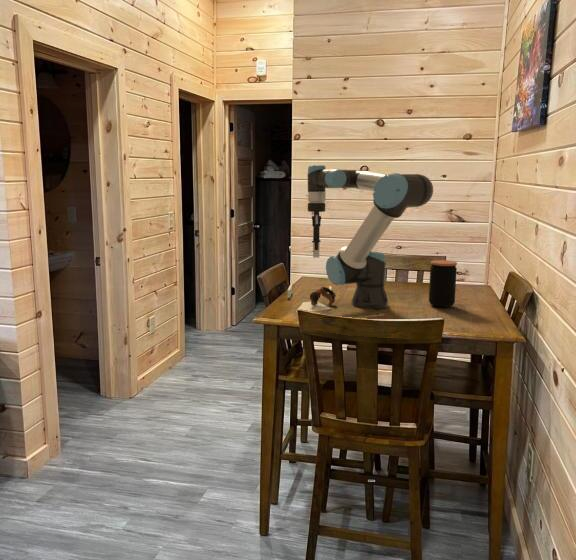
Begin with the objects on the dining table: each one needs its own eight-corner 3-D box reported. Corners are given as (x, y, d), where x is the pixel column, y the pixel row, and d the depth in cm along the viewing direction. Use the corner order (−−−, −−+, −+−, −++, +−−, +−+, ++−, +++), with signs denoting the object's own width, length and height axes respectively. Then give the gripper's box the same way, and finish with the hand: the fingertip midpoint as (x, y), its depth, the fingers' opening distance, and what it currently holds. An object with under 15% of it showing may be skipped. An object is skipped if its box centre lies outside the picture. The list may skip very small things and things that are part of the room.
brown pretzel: (289, 293, 252) (289, 285, 251) (331, 294, 250) (331, 285, 249) (287, 299, 240) (287, 290, 239) (331, 300, 238) (331, 291, 238)
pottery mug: (318, 301, 236) (328, 285, 234) (331, 314, 231) (342, 298, 228) (300, 299, 227) (310, 283, 225) (314, 312, 222) (324, 296, 219)
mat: (334, 309, 222) (334, 308, 222) (298, 313, 215) (298, 312, 215) (315, 301, 236) (315, 301, 236) (281, 304, 229) (281, 304, 229)
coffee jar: (459, 306, 227) (461, 263, 224) (434, 307, 225) (437, 264, 222) (447, 301, 237) (450, 259, 234) (424, 301, 235) (426, 260, 232)
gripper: (307, 201, 239) (307, 255, 243) (307, 202, 226) (307, 259, 230) (324, 201, 239) (324, 255, 243) (325, 202, 226) (325, 259, 230)
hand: (316, 257), depth 236 cm, fingers closed
